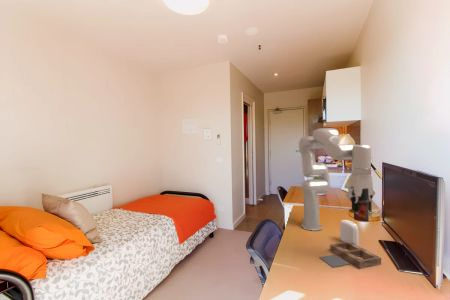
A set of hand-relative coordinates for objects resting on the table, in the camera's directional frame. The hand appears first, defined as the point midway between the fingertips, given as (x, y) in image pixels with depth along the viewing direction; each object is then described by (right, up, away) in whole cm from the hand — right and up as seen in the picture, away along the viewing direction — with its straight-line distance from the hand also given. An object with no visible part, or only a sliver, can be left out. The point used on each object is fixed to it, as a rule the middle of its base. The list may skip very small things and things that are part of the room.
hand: (360, 209), depth 103 cm
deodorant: (0, -5, 0) cm, 5 cm away
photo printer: (+5, -24, +19) cm, 31 cm away
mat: (-12, -24, +1) cm, 27 cm away
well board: (-1, -24, +4) cm, 24 cm away
